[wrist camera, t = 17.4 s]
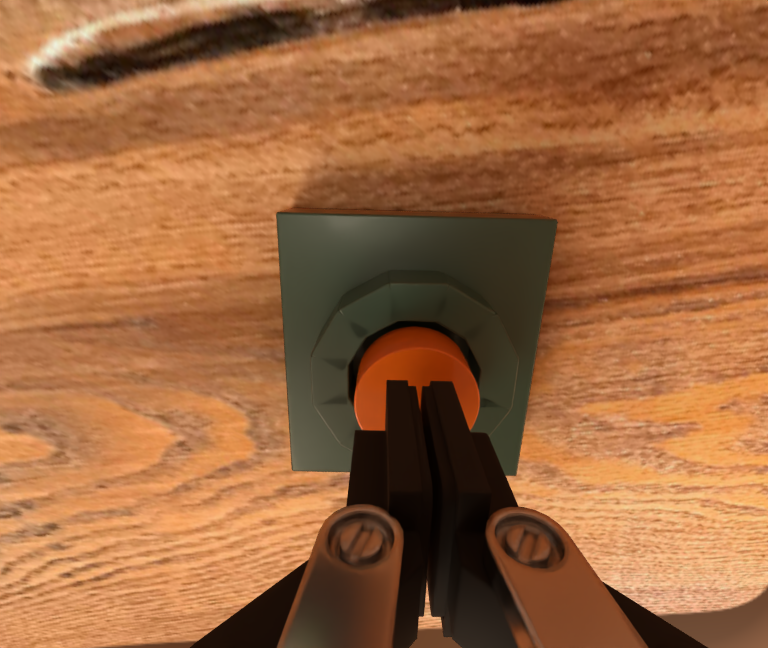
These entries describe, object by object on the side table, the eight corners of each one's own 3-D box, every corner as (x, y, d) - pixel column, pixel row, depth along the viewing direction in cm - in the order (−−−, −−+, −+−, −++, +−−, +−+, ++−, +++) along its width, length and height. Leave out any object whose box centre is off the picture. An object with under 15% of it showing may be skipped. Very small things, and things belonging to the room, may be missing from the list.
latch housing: (290, 207, 15) (258, 216, 11) (534, 213, 15) (585, 225, 11) (302, 438, 18) (280, 506, 14) (501, 443, 18) (532, 511, 15)
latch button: (357, 324, 13) (353, 345, 11) (473, 327, 13) (487, 348, 11) (357, 424, 14) (353, 457, 12) (463, 426, 14) (473, 459, 12)
